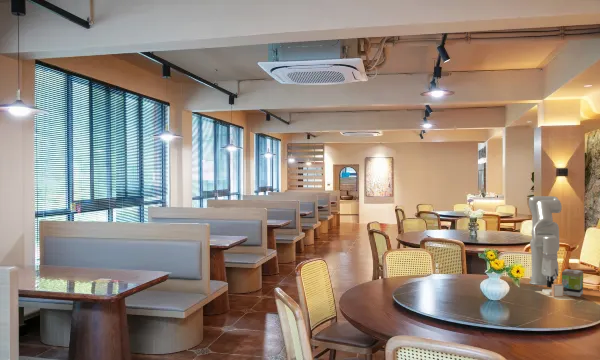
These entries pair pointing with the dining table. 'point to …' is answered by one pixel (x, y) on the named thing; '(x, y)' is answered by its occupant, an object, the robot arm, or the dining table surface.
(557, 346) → the dining table surface
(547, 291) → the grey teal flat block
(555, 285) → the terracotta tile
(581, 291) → the tea box
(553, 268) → the robot arm
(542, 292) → the board
